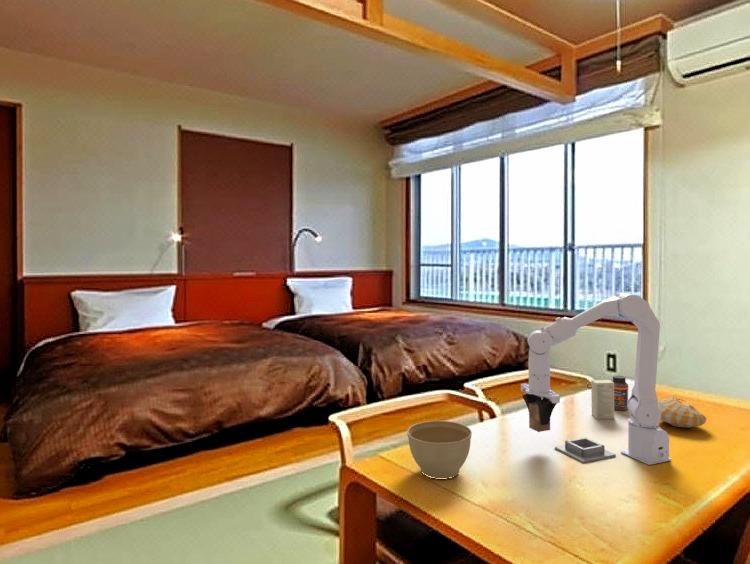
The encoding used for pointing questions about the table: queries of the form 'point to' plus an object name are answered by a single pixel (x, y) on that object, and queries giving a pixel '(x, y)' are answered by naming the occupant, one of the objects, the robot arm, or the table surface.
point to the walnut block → (536, 419)
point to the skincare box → (602, 399)
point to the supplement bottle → (620, 393)
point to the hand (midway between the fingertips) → (539, 421)
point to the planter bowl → (439, 447)
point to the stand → (585, 450)
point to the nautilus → (680, 414)
